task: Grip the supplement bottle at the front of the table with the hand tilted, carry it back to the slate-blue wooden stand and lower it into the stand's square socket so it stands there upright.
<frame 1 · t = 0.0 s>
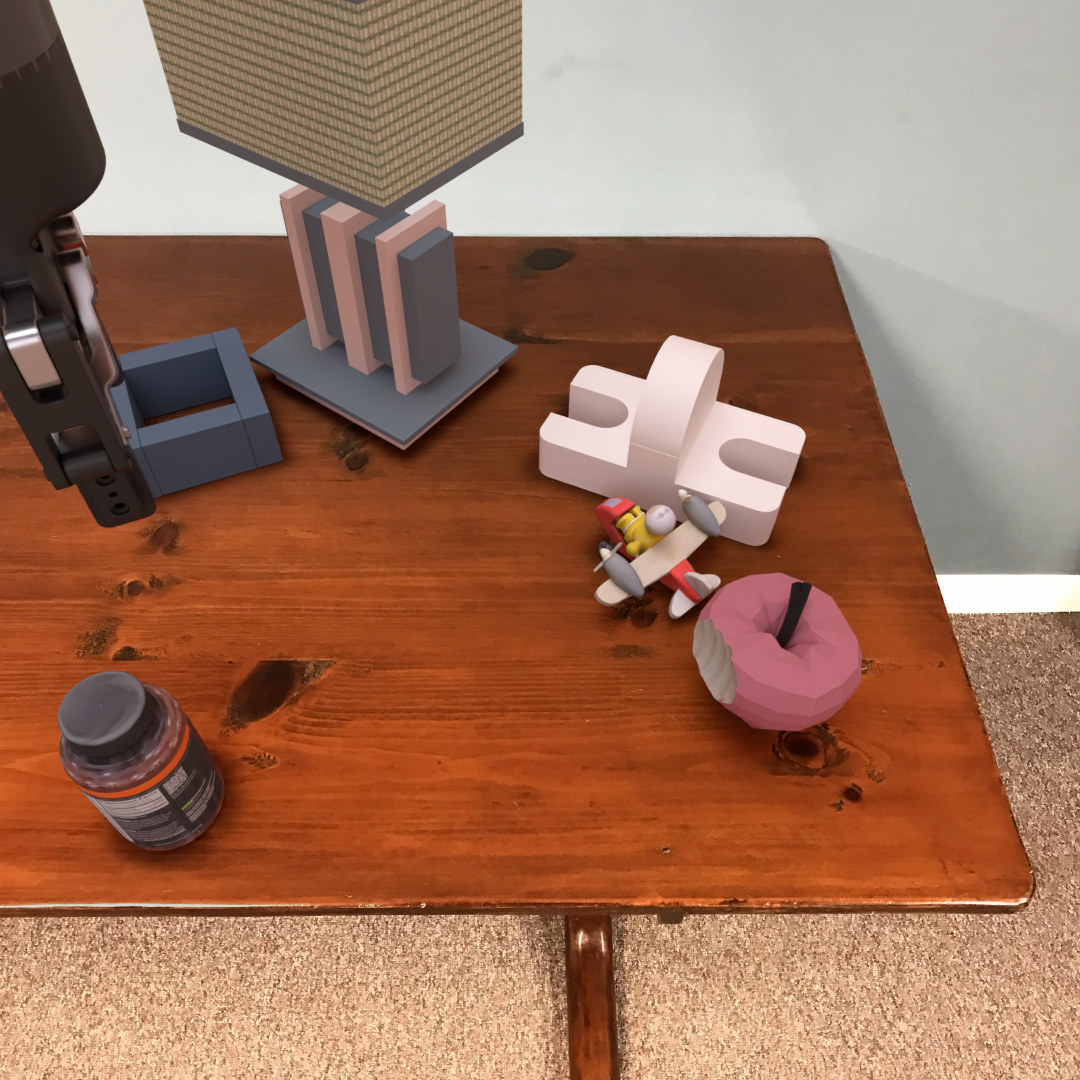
hand: (114, 447, 38), 22 cm above the table, tool pointing down, fingers open, 8 cm apart
desk lamp: (388, 376, 75), on the table
supplement bottle: (174, 805, 51), on the table
apple: (756, 702, 56), on the table
stand: (197, 435, 70), on the table
toy airplane: (655, 579, 62), on the table
slotted arch bracket: (666, 469, 69), on the table
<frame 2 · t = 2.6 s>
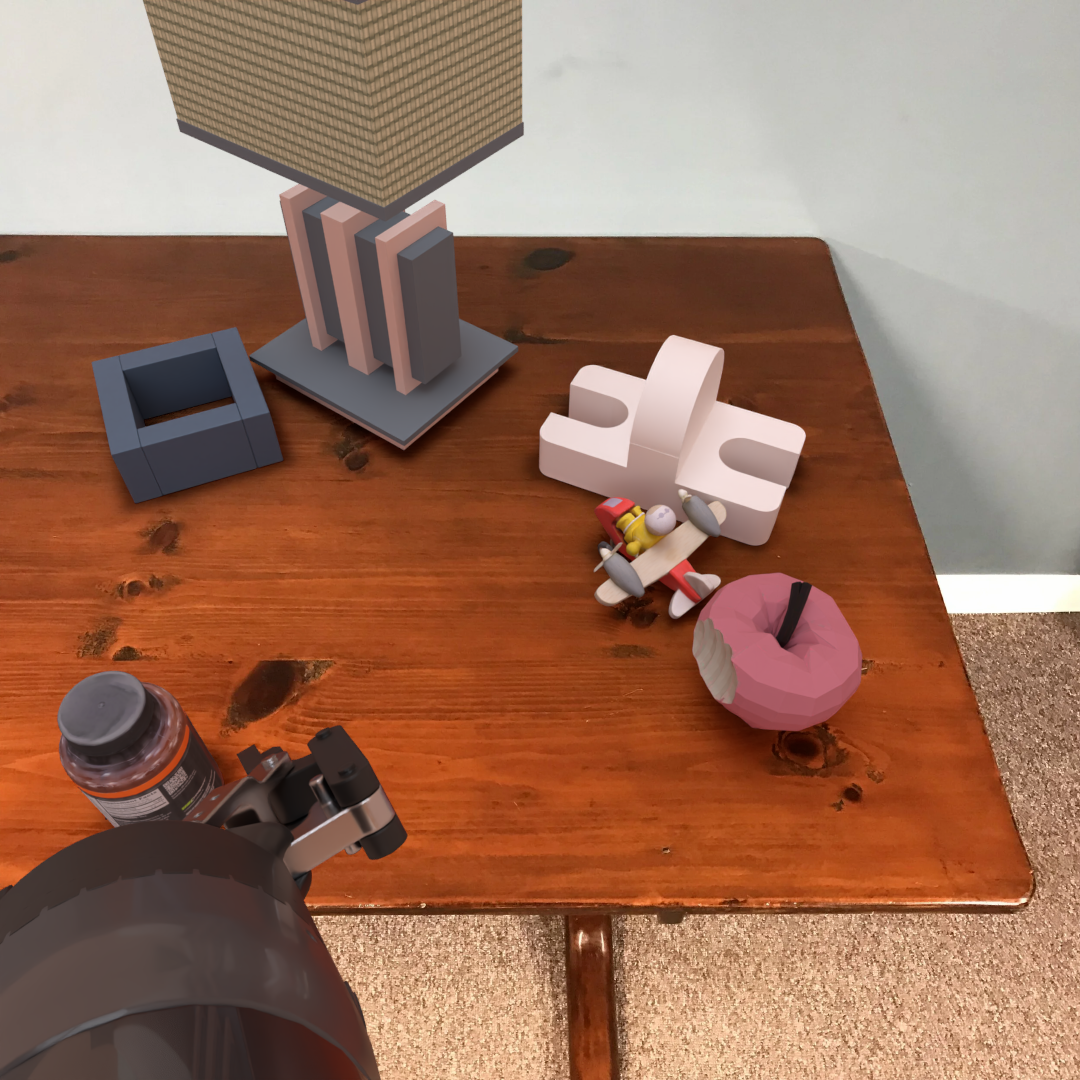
hand: (143, 840, 31), 18 cm above the table, tool tilted 45°, fingers open, 8 cm apart
nothing on the table moved.
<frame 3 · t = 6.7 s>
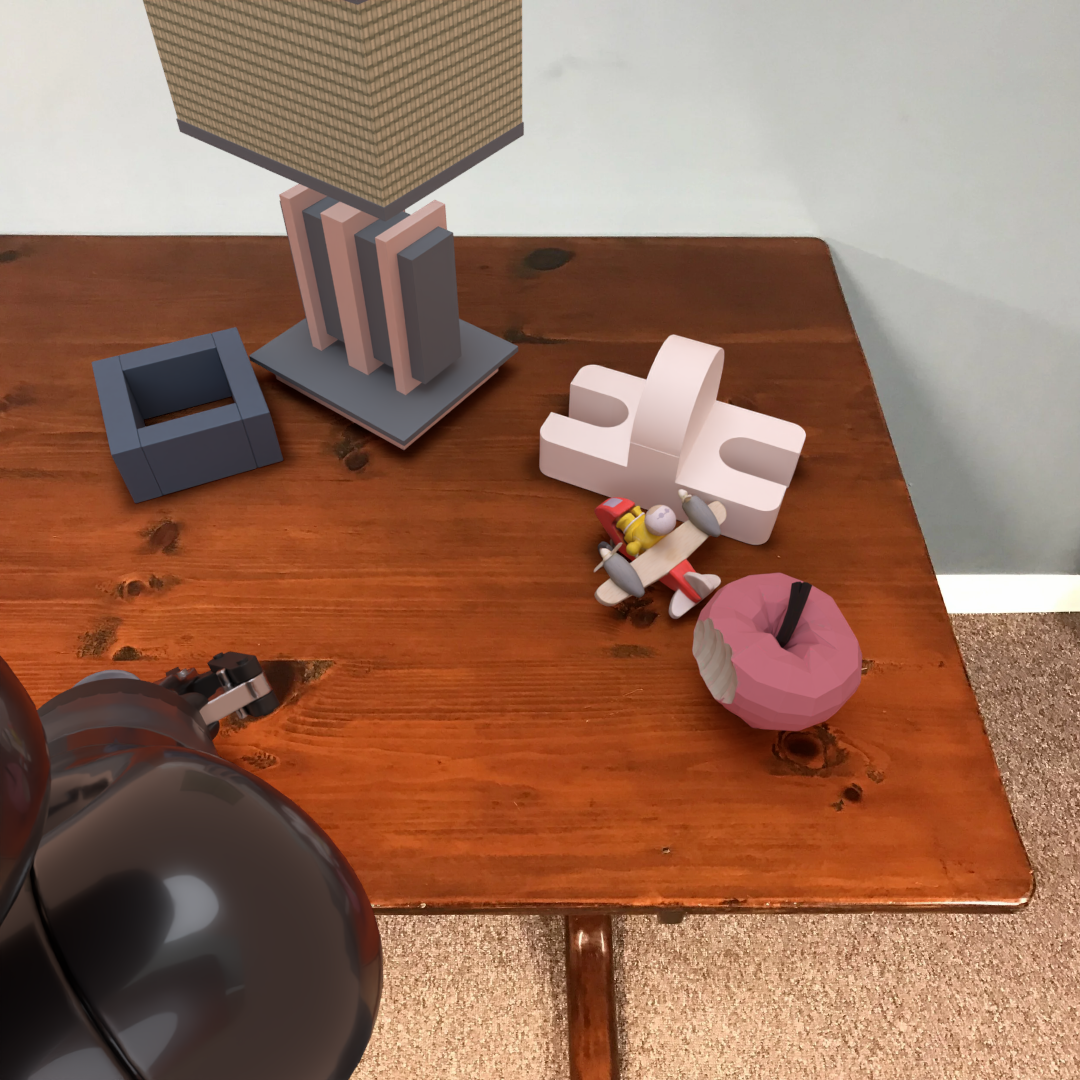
hand: (118, 718, 46), 7 cm above the table, tool tilted 45°, fingers closed on supplement bottle, 6 cm apart
supplement bottle: (174, 805, 51), on the table, touching gripper
everything else where it was.
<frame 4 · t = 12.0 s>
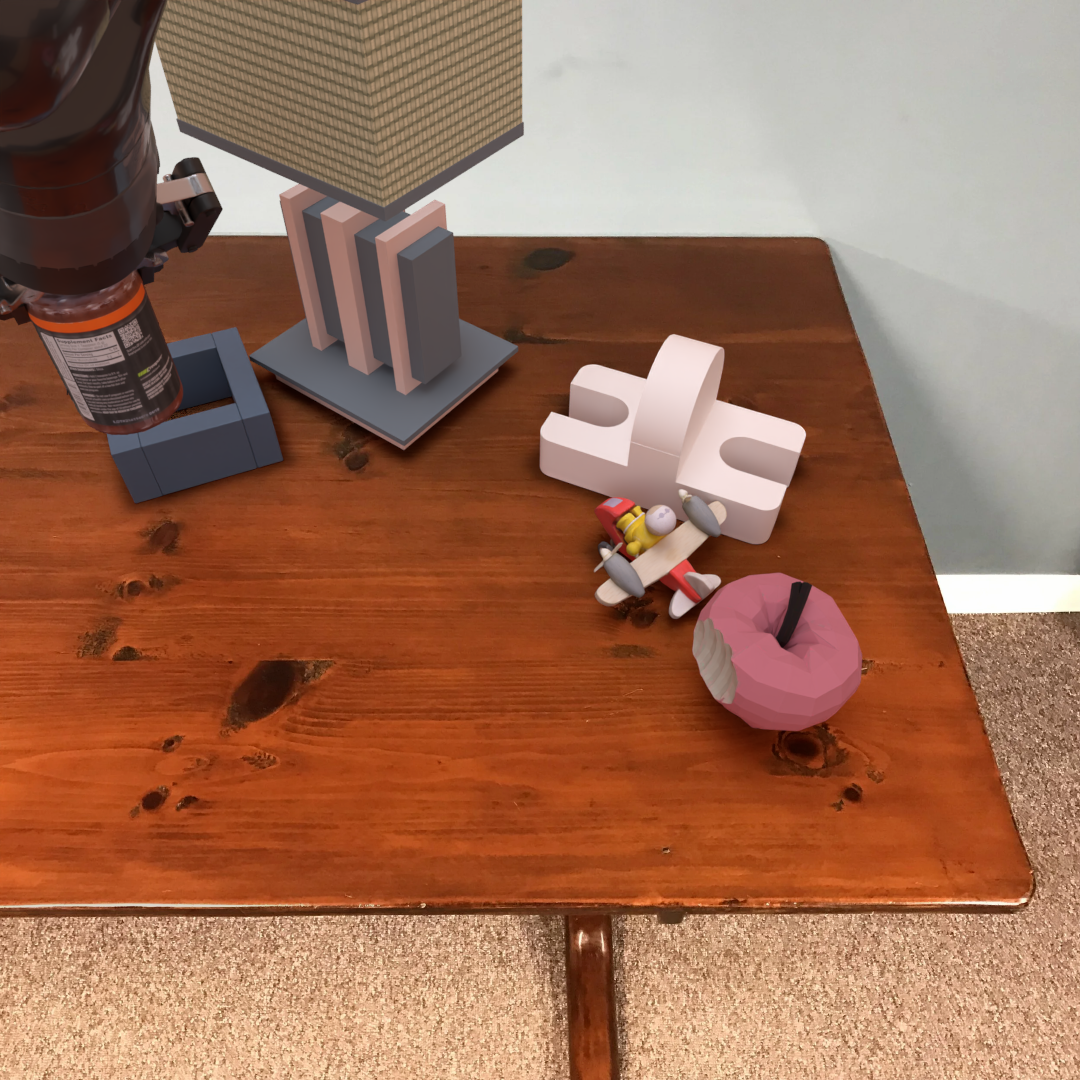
hand: (78, 285, 49), 20 cm above the table, tool tilted 45°, fingers closed on supplement bottle, 6 cm apart
supplement bottle: (135, 408, 53), point 13 cm above the table, touching gripper
everything else where it was.
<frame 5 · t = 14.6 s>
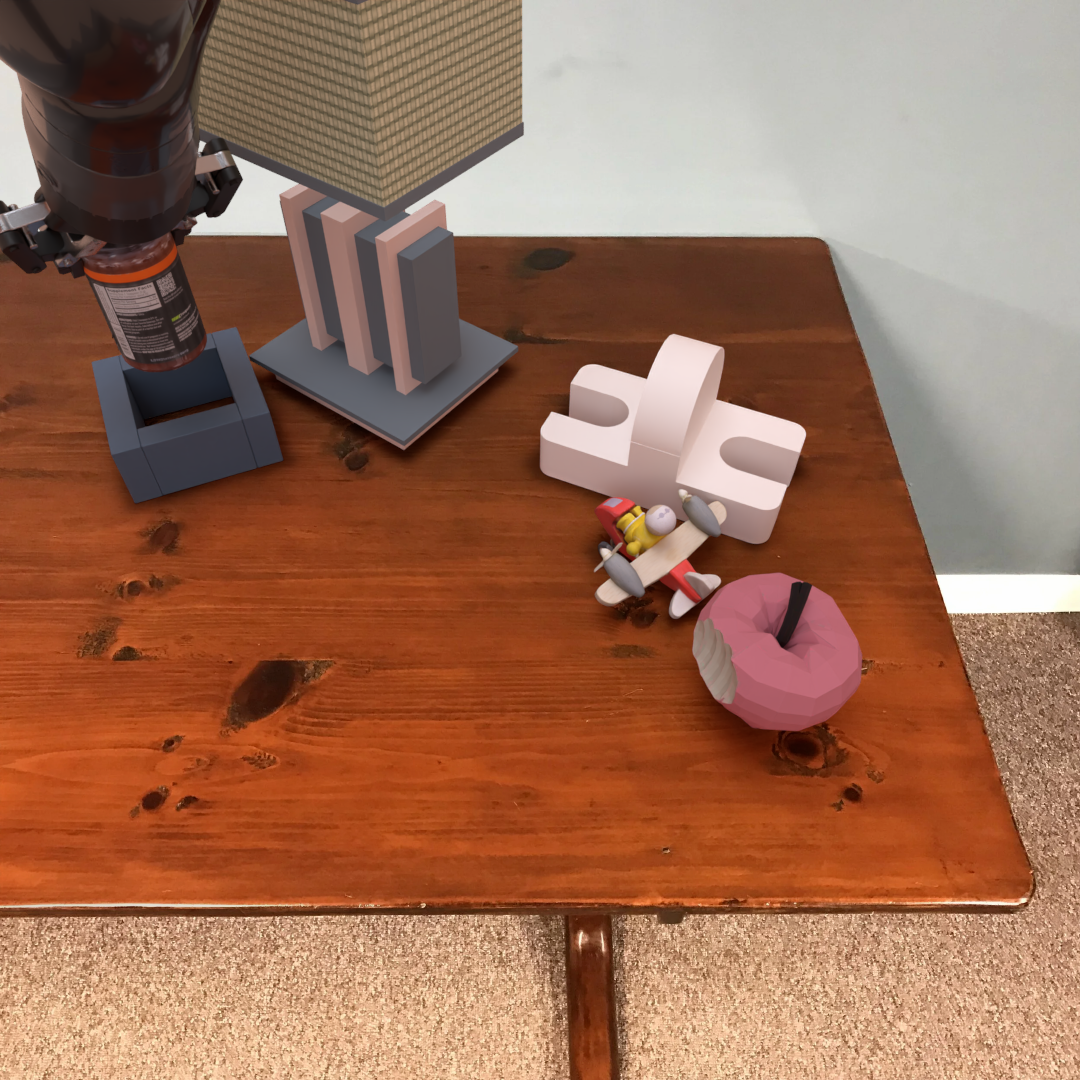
hand: (121, 246, 59), 16 cm above the table, tool tilted 45°, fingers closed on supplement bottle, 6 cm apart
supplement bottle: (167, 352, 64), point 8 cm above the table, touching gripper
everything else where it was.
when the fingers open (9 cm above the table, at t = 17.1 s): supplement bottle drops 2 cm, resting in stand.
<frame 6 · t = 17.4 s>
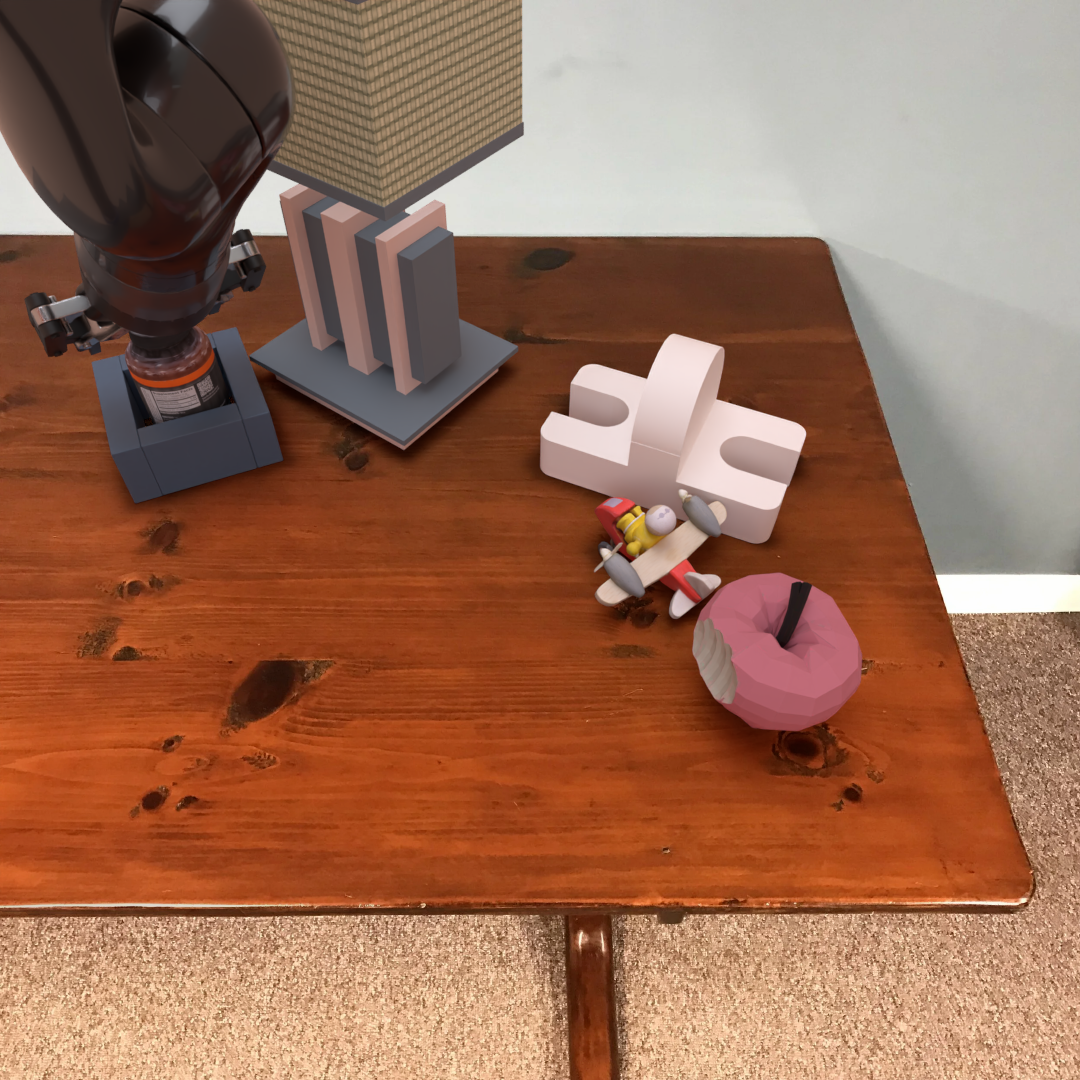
hand: (149, 319, 63), 10 cm above the table, tool tilted 45°, fingers open, 8 cm apart
supplement bottle: (202, 438, 70), resting in stand
everything else where it was.
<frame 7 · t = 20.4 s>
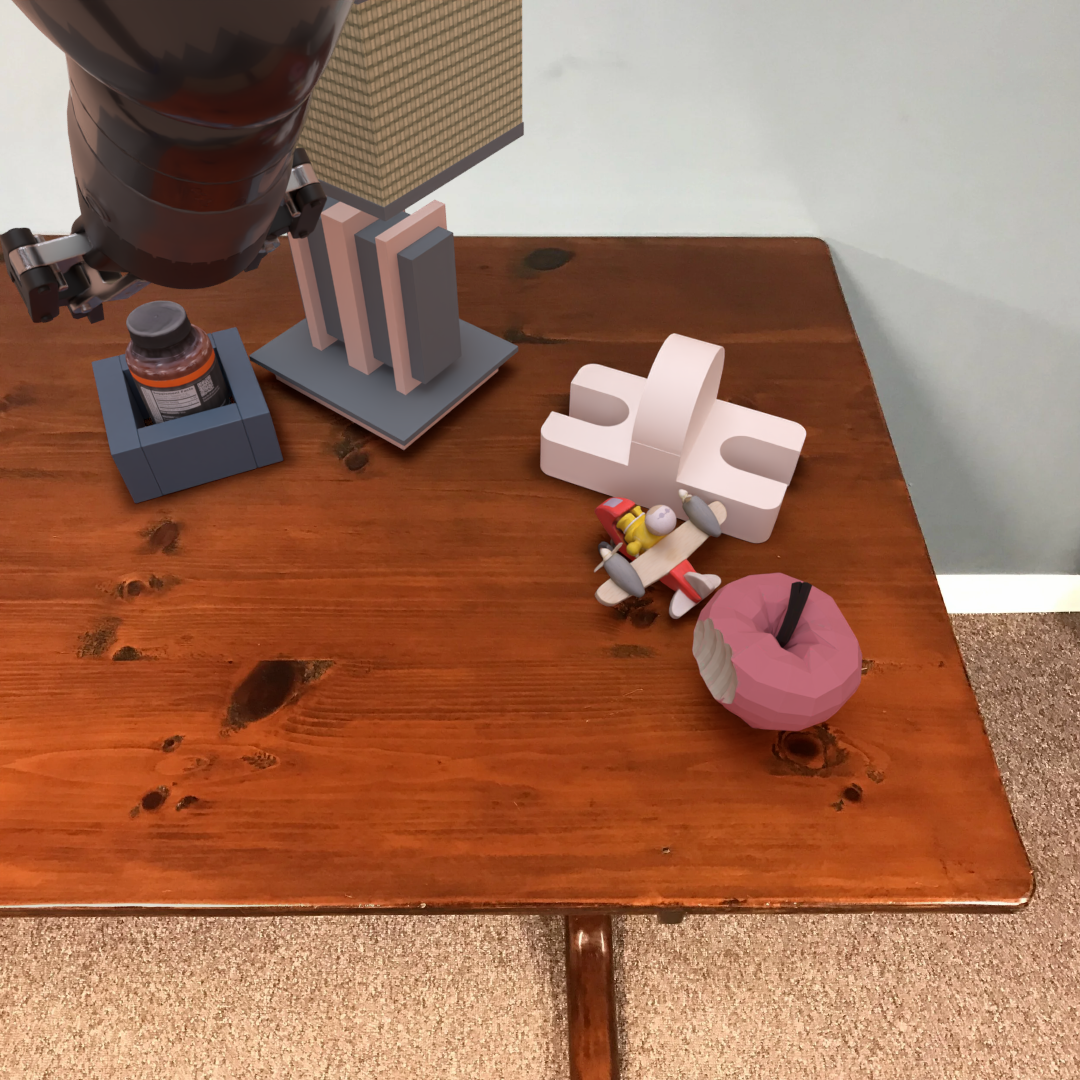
hand: (167, 278, 49), 20 cm above the table, tool tilted 45°, fingers open, 8 cm apart
nothing on the table moved.
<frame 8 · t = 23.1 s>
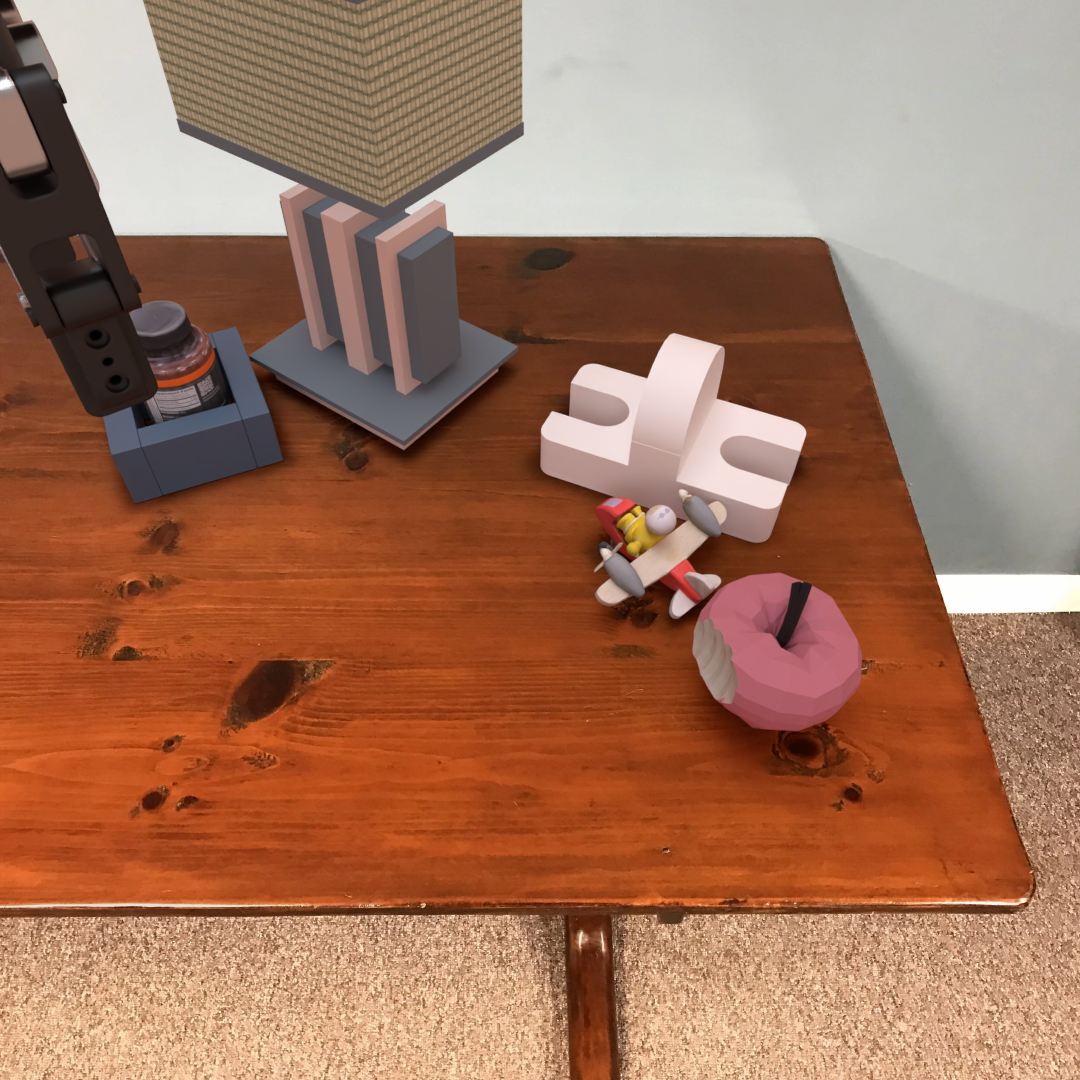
hand: (82, 331, 30), 30 cm above the table, tool pointing down, fingers open, 8 cm apart
nothing on the table moved.
at the end: supplement bottle 0.4 cm off-centre in the stand, point 0.0 cm above the stand's base; supplement bottle tilted 0°; the gripper is holding nothing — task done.
